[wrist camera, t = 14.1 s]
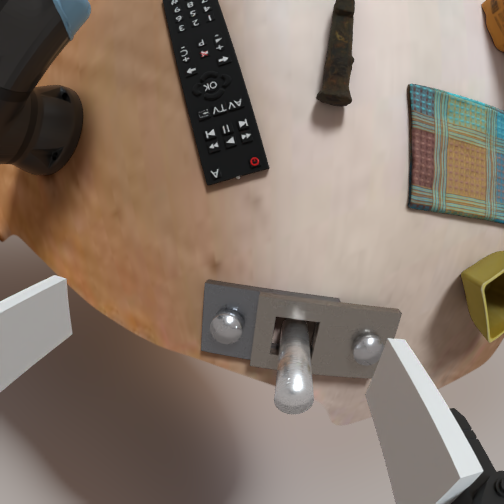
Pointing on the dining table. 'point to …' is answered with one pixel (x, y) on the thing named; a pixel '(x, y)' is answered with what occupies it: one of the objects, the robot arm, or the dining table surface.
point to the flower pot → (486, 294)
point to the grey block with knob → (327, 334)
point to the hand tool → (339, 56)
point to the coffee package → (495, 21)
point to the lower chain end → (236, 317)
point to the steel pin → (294, 369)
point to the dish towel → (455, 155)
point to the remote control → (214, 91)
